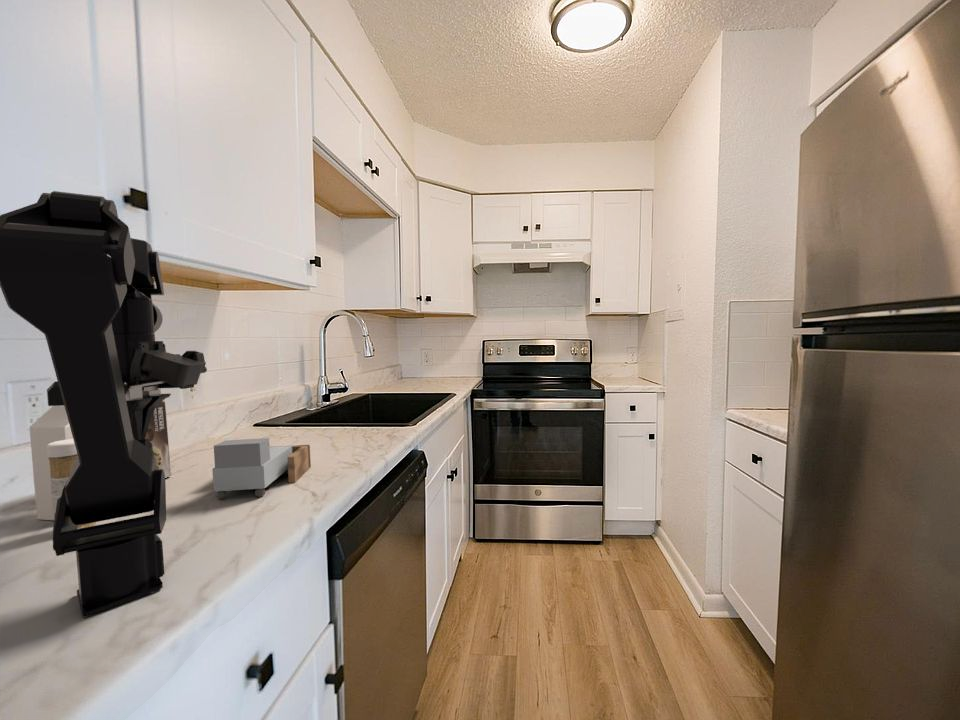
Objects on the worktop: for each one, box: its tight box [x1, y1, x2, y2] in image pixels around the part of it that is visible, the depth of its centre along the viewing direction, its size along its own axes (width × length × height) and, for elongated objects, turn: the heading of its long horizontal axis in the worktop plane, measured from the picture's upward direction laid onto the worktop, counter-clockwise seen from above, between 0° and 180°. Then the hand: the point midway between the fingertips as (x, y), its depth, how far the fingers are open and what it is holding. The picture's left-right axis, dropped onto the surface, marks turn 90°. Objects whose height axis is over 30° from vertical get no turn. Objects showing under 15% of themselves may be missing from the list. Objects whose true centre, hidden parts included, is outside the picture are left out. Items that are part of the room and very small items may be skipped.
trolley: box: [212, 437, 293, 500], centre depth 79 cm, size 15×8×10 cm, turn 6°
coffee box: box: [145, 400, 172, 479], centre depth 82 cm, size 9×6×16 cm
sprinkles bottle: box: [47, 439, 97, 529], centre depth 62 cm, size 5×5×14 cm
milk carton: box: [29, 405, 73, 521], centre depth 69 cm, size 7×7×19 cm
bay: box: [276, 444, 312, 484], centre depth 84 cm, size 10×14×5 cm
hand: (136, 447), depth 57 cm, fingers closed
